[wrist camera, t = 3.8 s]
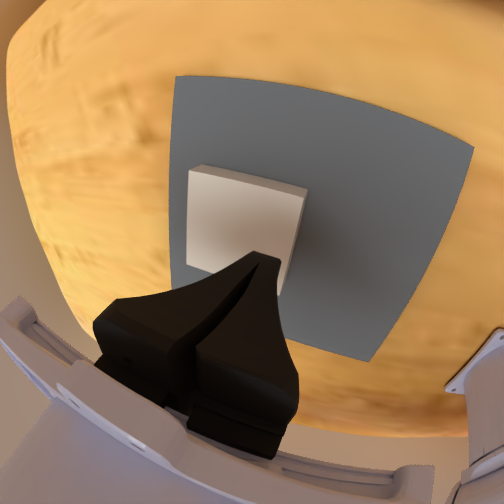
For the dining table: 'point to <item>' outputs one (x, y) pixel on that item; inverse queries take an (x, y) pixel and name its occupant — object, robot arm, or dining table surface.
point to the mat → (324, 198)
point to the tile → (240, 218)
